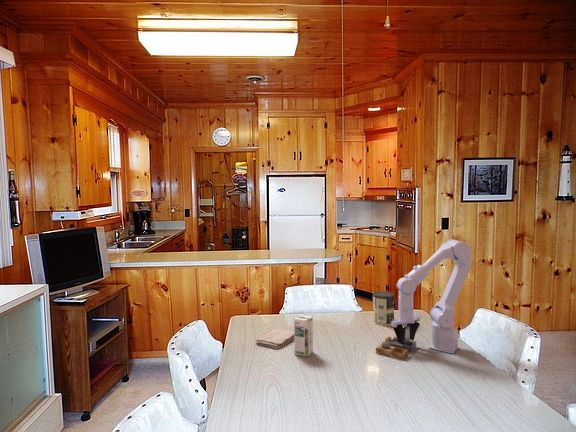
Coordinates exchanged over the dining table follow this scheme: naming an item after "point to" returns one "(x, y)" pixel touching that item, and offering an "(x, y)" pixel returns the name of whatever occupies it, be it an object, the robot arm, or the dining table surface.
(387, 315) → the coffee can
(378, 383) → the dining table surface
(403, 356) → the frame
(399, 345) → the socket block
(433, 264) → the robot arm
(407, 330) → the metallic rounded cylinder
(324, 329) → the dining table surface
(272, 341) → the washcloth
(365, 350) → the dining table surface
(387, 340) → the drift key
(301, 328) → the syrup box
